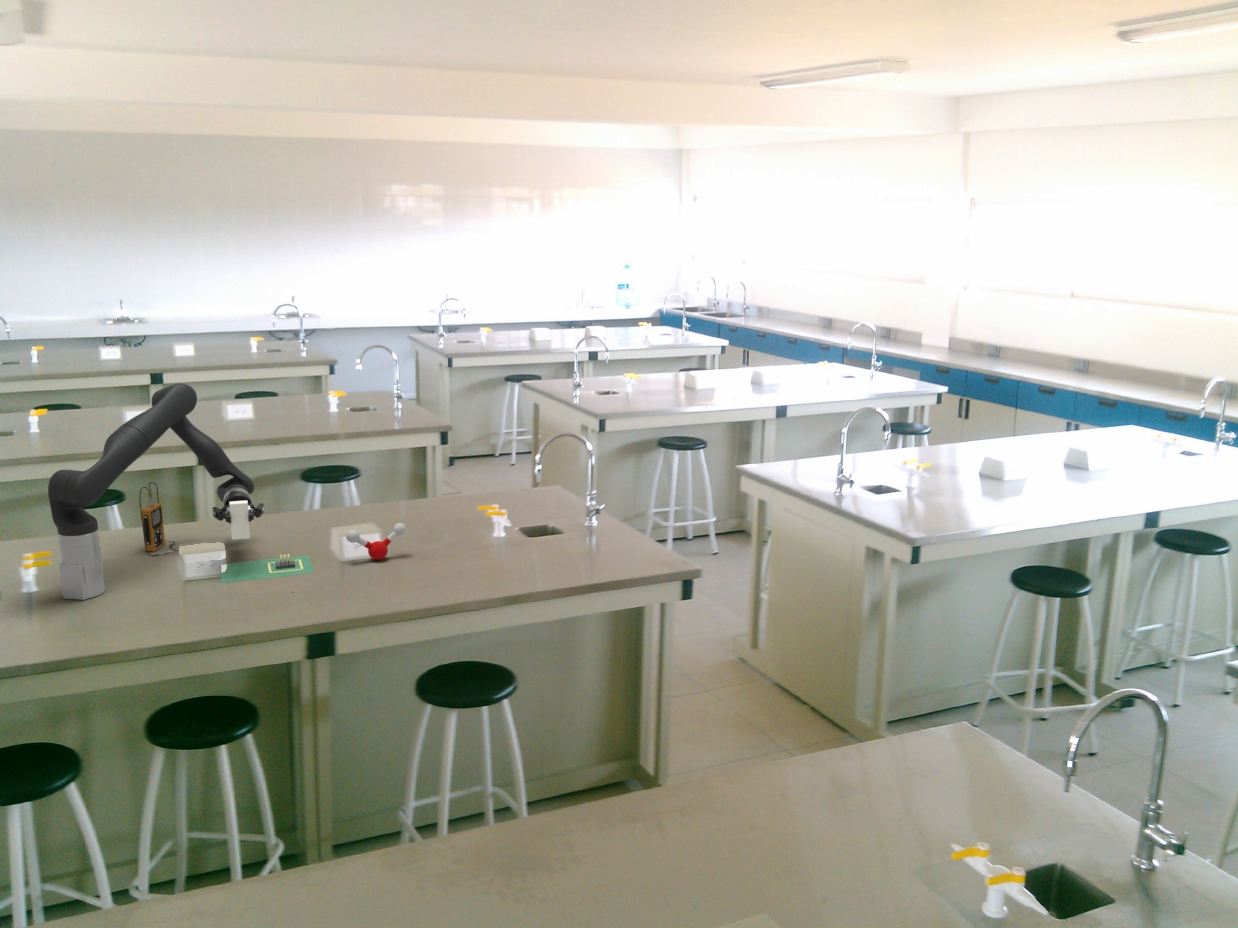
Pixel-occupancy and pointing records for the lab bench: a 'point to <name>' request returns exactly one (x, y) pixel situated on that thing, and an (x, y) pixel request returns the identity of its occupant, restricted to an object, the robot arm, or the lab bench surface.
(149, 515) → the multimeter
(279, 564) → the pin header
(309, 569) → the circuit board
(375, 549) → the molecular model
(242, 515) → the plug
